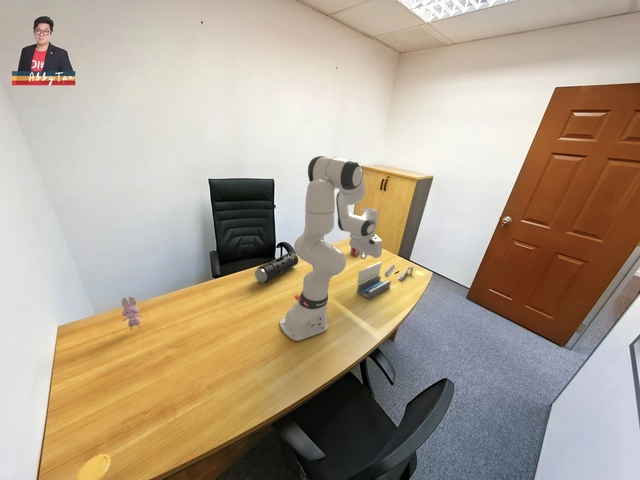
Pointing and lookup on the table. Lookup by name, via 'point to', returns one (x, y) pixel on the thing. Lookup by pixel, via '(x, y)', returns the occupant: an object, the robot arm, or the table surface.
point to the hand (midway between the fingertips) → (362, 258)
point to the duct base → (375, 290)
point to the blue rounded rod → (373, 286)
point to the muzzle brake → (275, 267)
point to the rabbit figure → (131, 311)
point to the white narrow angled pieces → (392, 267)
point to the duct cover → (369, 273)
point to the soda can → (354, 252)
